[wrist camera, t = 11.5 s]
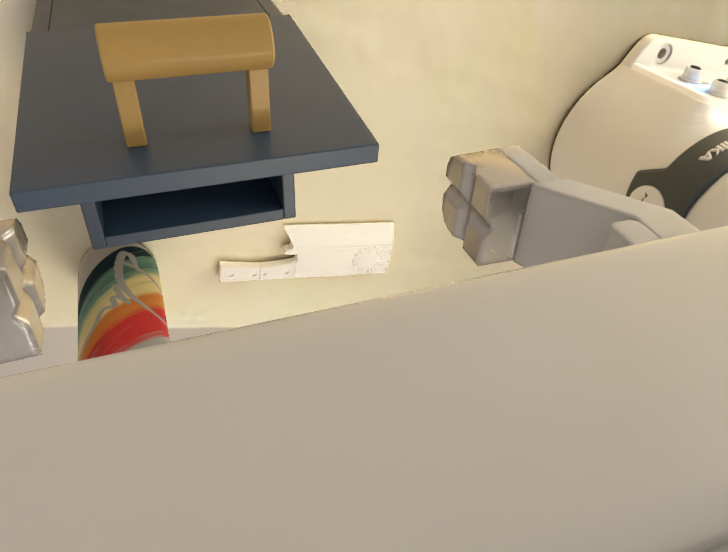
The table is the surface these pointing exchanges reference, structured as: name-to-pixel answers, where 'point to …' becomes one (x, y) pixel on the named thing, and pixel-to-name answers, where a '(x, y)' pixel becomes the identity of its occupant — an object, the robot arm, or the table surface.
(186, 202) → the chest
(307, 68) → the lid
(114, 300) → the lotion bottle
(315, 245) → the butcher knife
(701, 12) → the table surface
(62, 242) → the table surface
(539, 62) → the table surface
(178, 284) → the table surface
